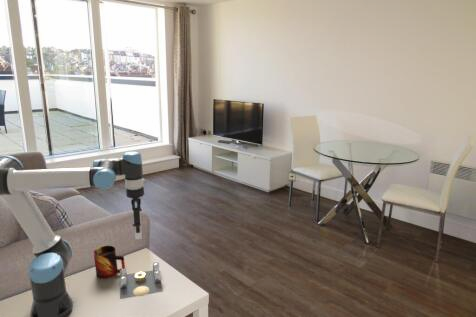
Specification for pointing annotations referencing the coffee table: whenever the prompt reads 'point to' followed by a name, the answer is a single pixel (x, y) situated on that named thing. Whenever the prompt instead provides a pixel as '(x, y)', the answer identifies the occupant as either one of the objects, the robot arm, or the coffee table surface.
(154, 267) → the spacer far right
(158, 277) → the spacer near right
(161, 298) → the coffee table surface
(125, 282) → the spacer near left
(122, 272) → the spacer far left
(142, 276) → the nut
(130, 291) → the mat
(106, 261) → the mug
